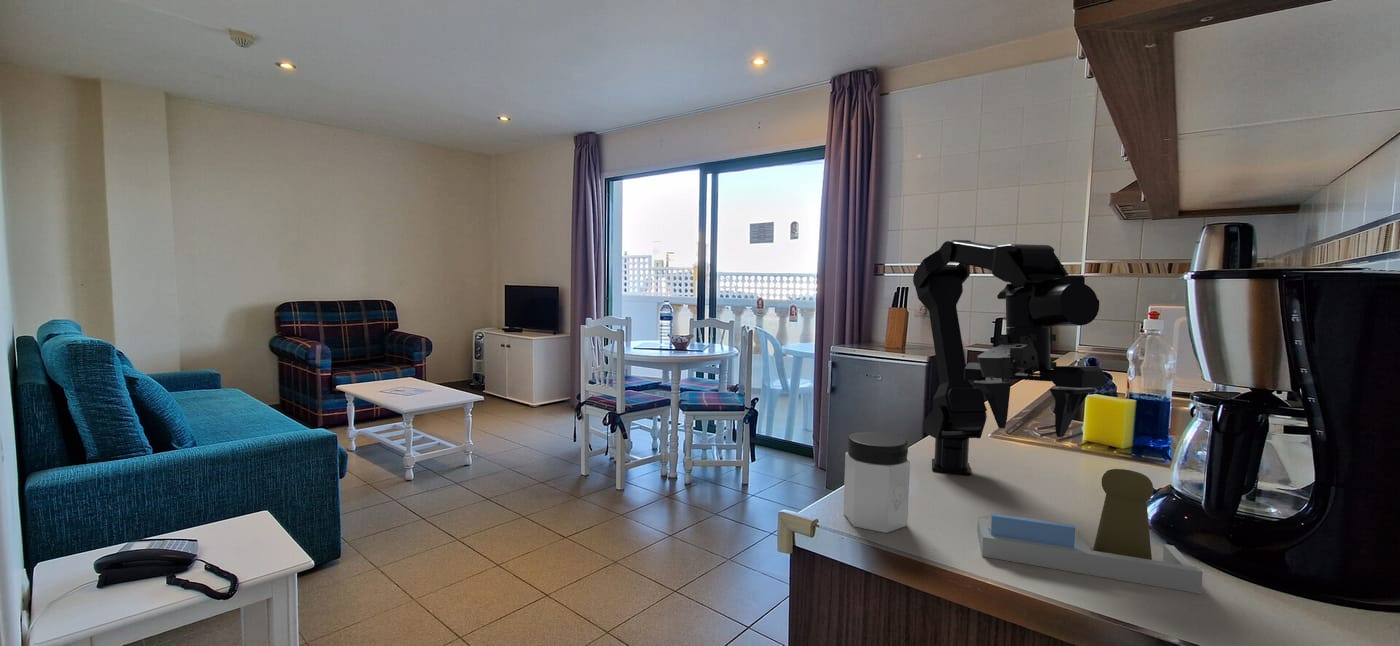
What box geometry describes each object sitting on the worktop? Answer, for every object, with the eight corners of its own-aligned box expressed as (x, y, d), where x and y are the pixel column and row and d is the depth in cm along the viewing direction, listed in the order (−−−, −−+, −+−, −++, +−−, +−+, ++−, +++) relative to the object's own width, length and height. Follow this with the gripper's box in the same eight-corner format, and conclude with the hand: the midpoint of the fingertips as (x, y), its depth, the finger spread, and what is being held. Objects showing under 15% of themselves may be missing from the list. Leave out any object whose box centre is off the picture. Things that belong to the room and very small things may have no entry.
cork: (1093, 541, 77) (1098, 461, 76) (1151, 554, 73) (1157, 470, 72) (1092, 558, 72) (1097, 473, 71) (1153, 573, 68) (1160, 483, 67)
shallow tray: (976, 528, 80) (978, 493, 80) (1169, 558, 72) (1172, 519, 72) (982, 556, 72) (984, 517, 72) (1200, 593, 64) (1204, 550, 63)
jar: (877, 538, 77) (880, 450, 76) (832, 517, 84) (834, 436, 83) (918, 523, 82) (922, 441, 81) (872, 504, 88) (875, 428, 88)
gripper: (938, 328, 91) (940, 427, 90) (1054, 325, 74) (1056, 446, 73) (987, 329, 96) (988, 423, 95) (1106, 326, 79) (1109, 440, 78)
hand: (1029, 432), depth 85 cm, fingers open, 9 cm apart
